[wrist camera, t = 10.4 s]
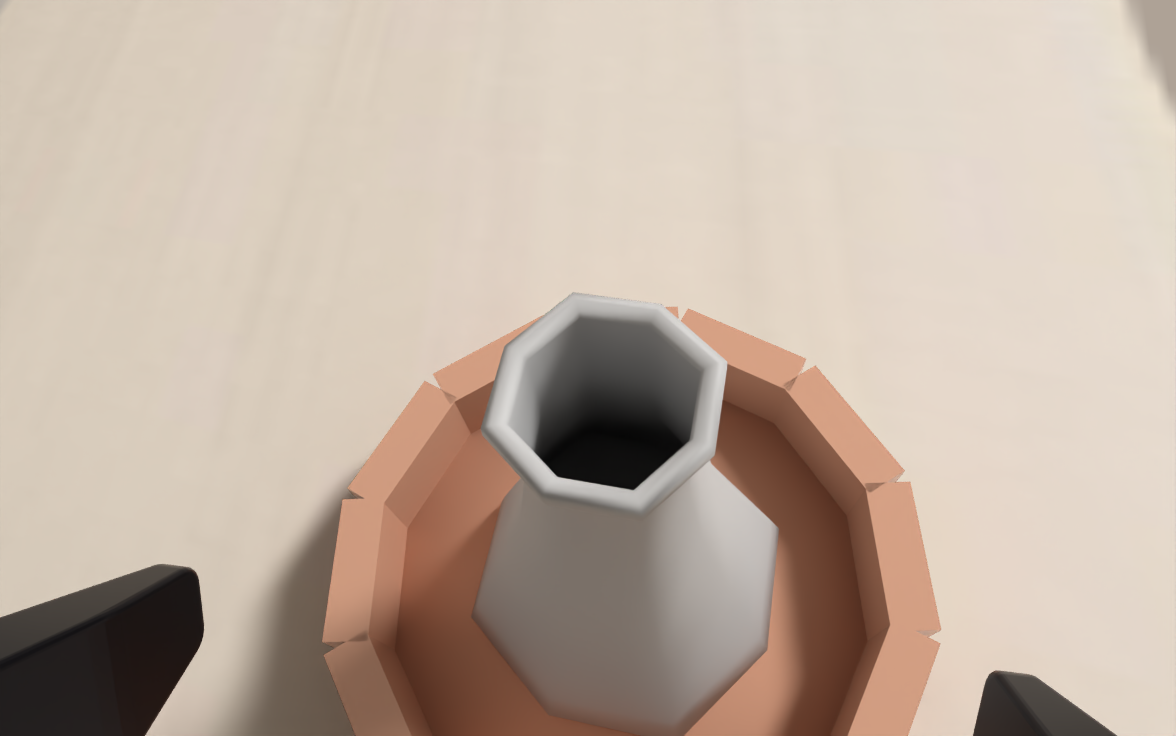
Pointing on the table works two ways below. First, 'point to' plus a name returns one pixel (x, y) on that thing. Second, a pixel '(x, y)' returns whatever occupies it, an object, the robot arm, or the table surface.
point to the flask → (621, 522)
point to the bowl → (743, 455)
